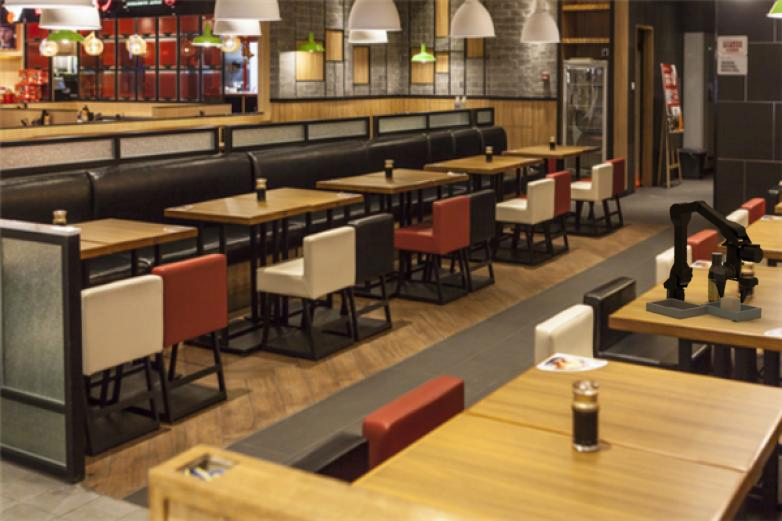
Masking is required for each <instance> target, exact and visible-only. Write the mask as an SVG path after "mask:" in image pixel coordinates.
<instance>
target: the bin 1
mask: <svg viewBox="0 0 782 521" xmlns="http://www.w3.org/2000/svg"><path fill="white" fill-rule="evenodd" d="M645 311H646V312H650V313H655V314H658V315H662V316H664V317H670V318H674V319H678V320H683V319H688V318H689V319H690V318H694V317H699V316H704V315H706V306H702V305H701V304H697V303H693V302H689V301H681V300H677V299H672V298H670V299H665V298H664V299H660V300H653V301H649V302H648V301H647V302H646V303H645Z"/></svg>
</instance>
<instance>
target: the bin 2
mask: <svg viewBox="0 0 782 521" xmlns="http://www.w3.org/2000/svg"><path fill="white" fill-rule="evenodd" d="M700 305H702V306H706V313H705V315H706V314H707V315H709V316H715V317H719V318H723V319H727V320H730V321H732V322H733V323H741V322H745V321H751V320H756V319H761V318H762V309H763V308H762V307H758V306H755V305H750V304H746V303H741V309H740V312H734V311H730V310H726V309H722V308H721V301H715V302H710V303H709V302H705V303H700Z"/></svg>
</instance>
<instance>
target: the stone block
mask: <svg viewBox="0 0 782 521" xmlns="http://www.w3.org/2000/svg"><path fill="white" fill-rule="evenodd" d="M721 308H722V309H726V310H730V311H734V312H740V309H741V303H740V297H737V296H732V295H731V296H730V295H729V296H725V297H723V298H721Z"/></svg>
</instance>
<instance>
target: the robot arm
mask: <svg viewBox="0 0 782 521" xmlns="http://www.w3.org/2000/svg"><path fill="white" fill-rule="evenodd" d="M668 211H669V212H668V213H669V218H670V221H671V223H672V224H673V264H672V265H671V268H670V270H669V276H668V278H667V279H665V281H664V282H663V284H662V285H663V289H664V290H666V299H670V298H672V299H677V300H681V301H685V299H686V293H685V288H686V289H687V288H688V287H689V284H690V283H691V281H692V280H693V279H692V278H694V274H693V270H694V268H693V267H692V266H690V265H689V264H688V227H689V226H688V225H689V223H690V221H691V220H692V214H693V213H697V214H699V215H700V216H701V217H702V218H704V219H705V220H706V221H708V222H709V223H710V224H712V226H714V227H716V228H717V229H718V231H719V232H720V234H721V236H722V237H723V238H724V239H725V240H724V241H723V242H722V243H721V244H720V245H721V247H725V248H726V249H725V261H723V262H722V267H721V268H719V269H717V270H713V271H710V272H709V271H708V273H707V279H712V280H711V281H712V282H713V283H715V285H716V287H717V290H718V293H719V296H720V299H721V298H723V296H724V291H725V292H726V284H727V281H728V280H729V281H733V282H738V283H739V285H738V288H739V289H740V296H739V298H740V303H742V304H744V302H745V300H746V299H747V297H748V295H749V294H750V293H751V290H752V289H753V288H755V287H756V286H759V278H758V277H756V276H751V275H746V276H744V275H745V274H744V272H742V268H743V266H745V262H749V263H753V264H760V263H761V262H762V260H763V258H764V251H763V248H761V244H760V243H752V242H753V241H752V240H751V239H750V236H749V235H748V233H747V228H746V227H745V226H744V225H743V224H740V223H738V222H736V221H732V220H730V219H728V218H726V217H725V216H724V215H722V214H721V213H720V212H719V211H717V210H716V209H714V208H713V207H712V206H710V205H709V204H708V203H707V202H706V201H705V200H703V199H699V200H698V199H697V200H694V201H691V202H688V201H687V202H686V201H684V202H676V203H673V204H671V206H670V207H669V210H668ZM685 302H686V301H685Z"/></svg>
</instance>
